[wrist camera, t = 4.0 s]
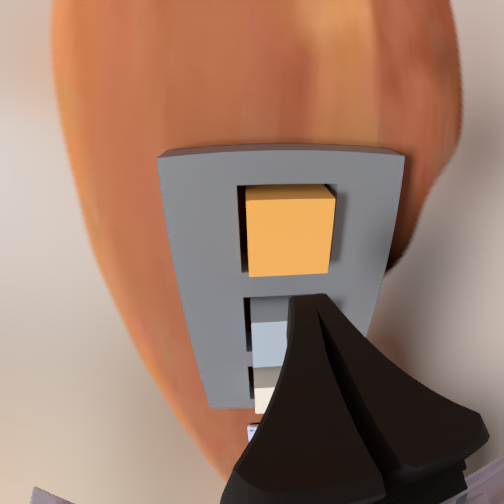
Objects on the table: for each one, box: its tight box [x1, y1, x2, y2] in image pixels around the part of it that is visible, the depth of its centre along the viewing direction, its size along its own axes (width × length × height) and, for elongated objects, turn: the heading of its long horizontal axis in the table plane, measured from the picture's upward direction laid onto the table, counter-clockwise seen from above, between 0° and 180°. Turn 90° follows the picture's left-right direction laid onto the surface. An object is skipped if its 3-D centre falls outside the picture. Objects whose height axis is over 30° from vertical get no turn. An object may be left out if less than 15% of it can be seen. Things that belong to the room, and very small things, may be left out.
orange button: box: [245, 184, 335, 277], centre depth 14 cm, size 4×4×2 cm
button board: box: [156, 144, 405, 408], centre depth 18 cm, size 21×12×2 cm, turn 2°
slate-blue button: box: [250, 293, 317, 368], centre depth 17 cm, size 4×4×2 cm
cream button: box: [253, 366, 282, 414], centre depth 20 cm, size 4×4×2 cm
